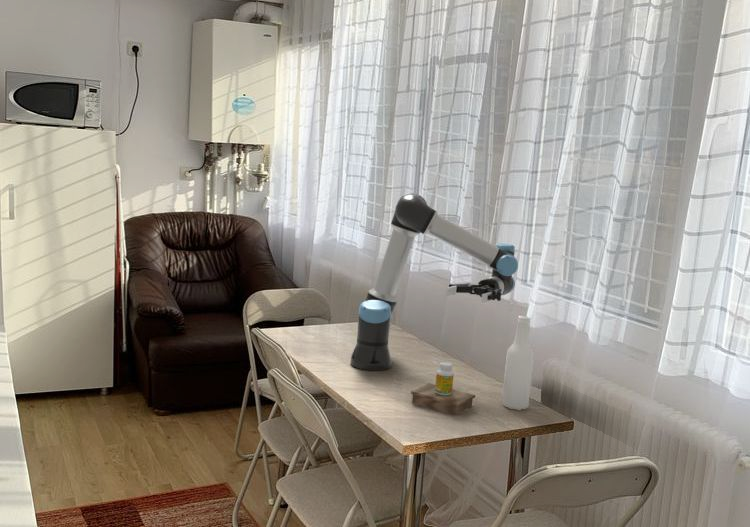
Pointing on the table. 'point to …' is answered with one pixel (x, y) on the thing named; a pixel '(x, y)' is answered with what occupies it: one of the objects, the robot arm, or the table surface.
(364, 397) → the table surface
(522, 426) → the table surface
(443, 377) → the supplement bottle
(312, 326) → the table surface
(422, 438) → the table surface
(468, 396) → the stand
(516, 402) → the alcohol
